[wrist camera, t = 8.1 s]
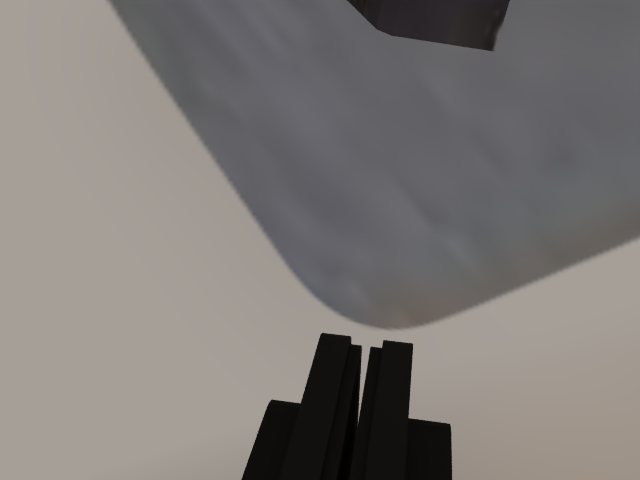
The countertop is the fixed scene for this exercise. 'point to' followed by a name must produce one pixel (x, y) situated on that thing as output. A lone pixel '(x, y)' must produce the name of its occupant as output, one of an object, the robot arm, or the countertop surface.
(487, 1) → the picture frame
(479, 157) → the countertop surface
